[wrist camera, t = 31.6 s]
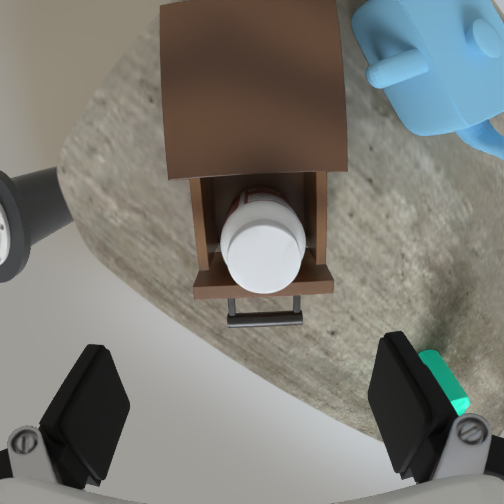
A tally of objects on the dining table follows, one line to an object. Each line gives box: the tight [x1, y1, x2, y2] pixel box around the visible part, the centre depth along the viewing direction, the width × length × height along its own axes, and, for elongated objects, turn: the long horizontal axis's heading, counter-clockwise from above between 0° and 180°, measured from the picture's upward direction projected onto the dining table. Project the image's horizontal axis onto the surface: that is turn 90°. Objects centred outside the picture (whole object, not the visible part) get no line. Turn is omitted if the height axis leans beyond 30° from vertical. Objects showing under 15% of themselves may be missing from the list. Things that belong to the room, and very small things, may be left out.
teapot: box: [351, 0, 504, 160], centre depth 20 cm, size 18×16×14 cm
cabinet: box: [160, 0, 348, 180], centre depth 23 cm, size 14×13×10 cm
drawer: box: [189, 172, 334, 328], centre depth 28 cm, size 17×11×8 cm, turn 3°
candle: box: [418, 349, 471, 416], centre depth 34 cm, size 6×6×12 cm
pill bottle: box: [220, 186, 306, 294], centre depth 25 cm, size 6×6×11 cm
